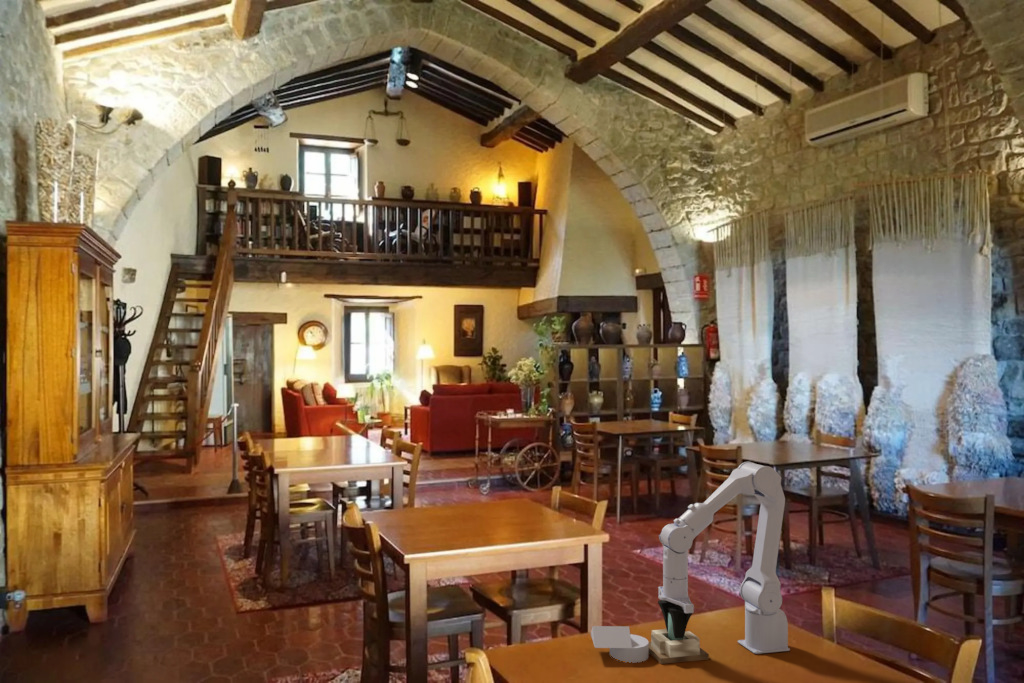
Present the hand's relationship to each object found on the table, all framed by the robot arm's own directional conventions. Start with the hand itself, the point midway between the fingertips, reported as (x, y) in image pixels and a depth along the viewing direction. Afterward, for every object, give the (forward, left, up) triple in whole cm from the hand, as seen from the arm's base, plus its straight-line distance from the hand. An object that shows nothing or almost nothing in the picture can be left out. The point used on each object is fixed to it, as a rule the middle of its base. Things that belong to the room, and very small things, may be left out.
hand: (675, 634), depth 180 cm
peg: (0, 0, -2) cm, 2 cm away
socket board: (0, 0, -4) cm, 4 cm away
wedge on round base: (+13, -2, -5) cm, 14 cm away
